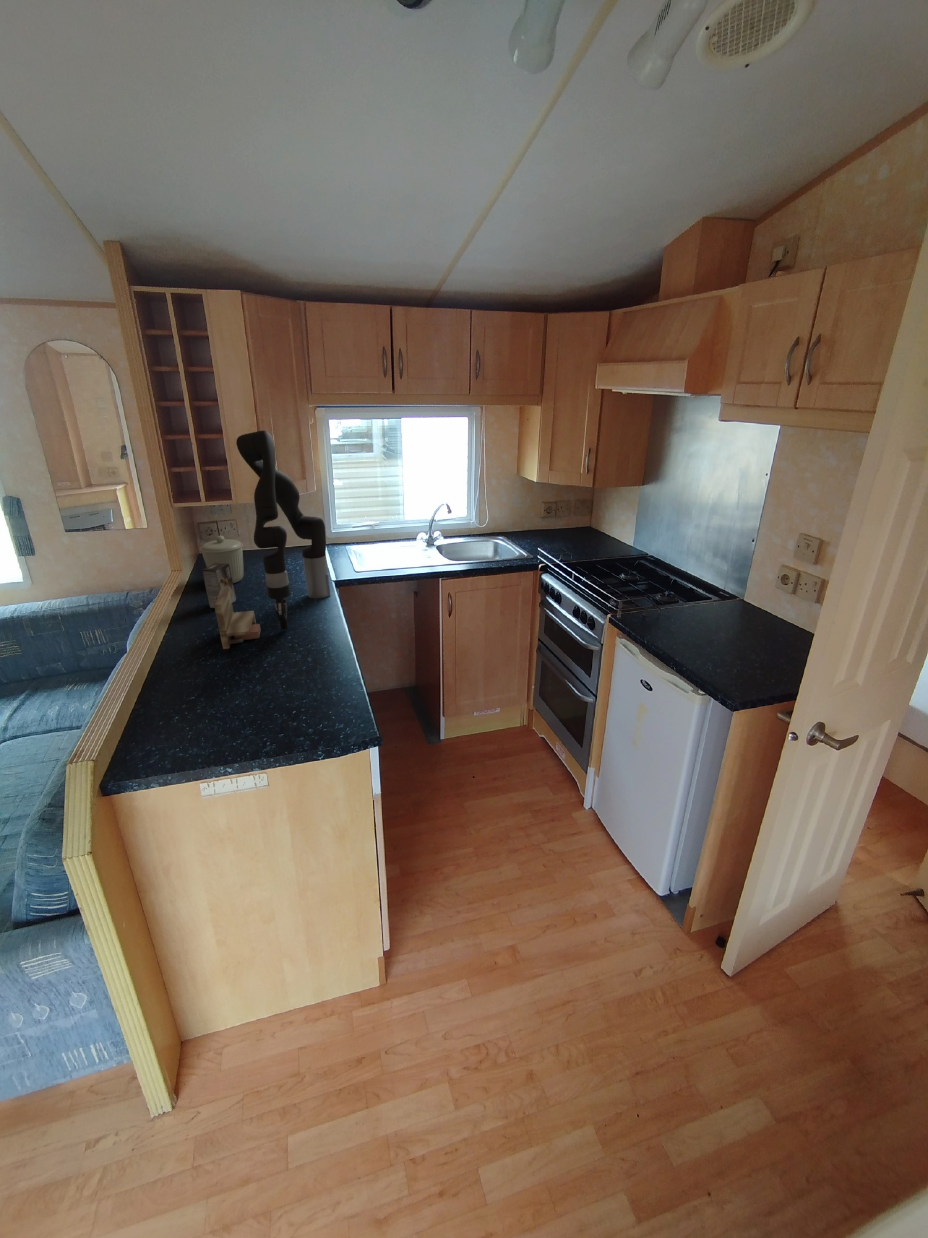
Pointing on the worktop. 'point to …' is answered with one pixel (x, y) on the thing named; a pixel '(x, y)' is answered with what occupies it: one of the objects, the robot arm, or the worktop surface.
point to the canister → (225, 555)
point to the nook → (231, 619)
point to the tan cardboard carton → (251, 633)
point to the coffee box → (218, 581)
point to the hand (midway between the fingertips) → (284, 628)
